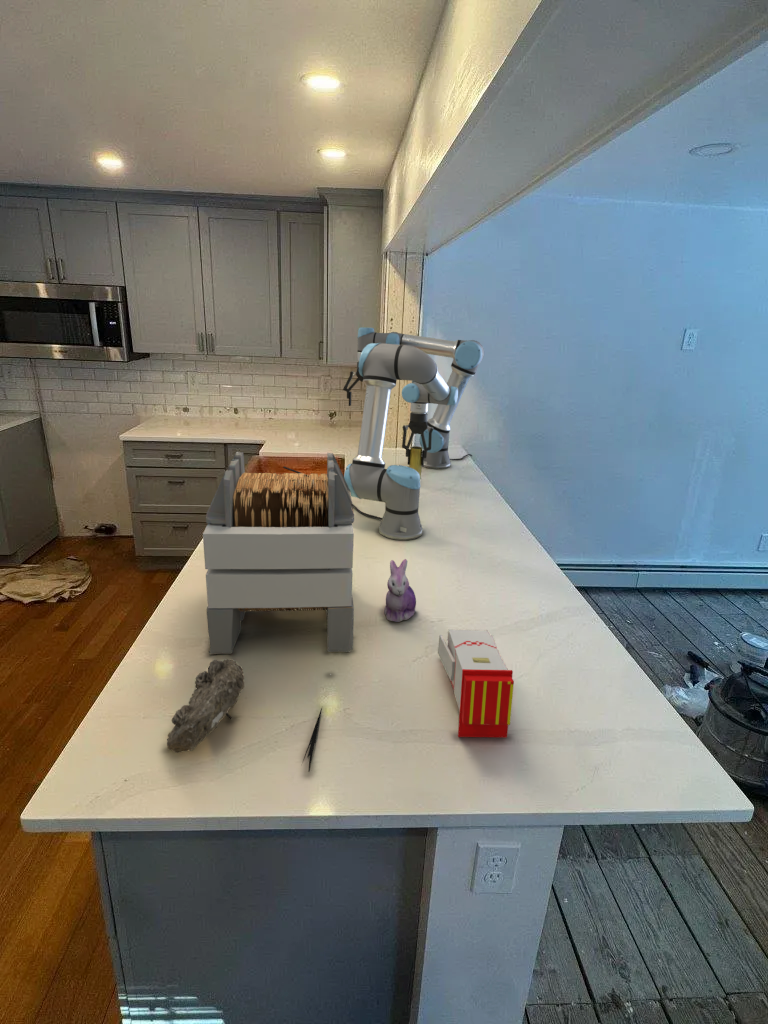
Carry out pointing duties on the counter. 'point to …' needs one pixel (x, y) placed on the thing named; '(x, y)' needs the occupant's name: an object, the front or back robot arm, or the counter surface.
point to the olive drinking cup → (416, 459)
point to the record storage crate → (279, 550)
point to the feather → (313, 740)
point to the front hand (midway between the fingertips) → (415, 464)
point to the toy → (478, 682)
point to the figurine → (399, 594)
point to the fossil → (206, 705)
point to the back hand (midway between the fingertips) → (363, 406)
